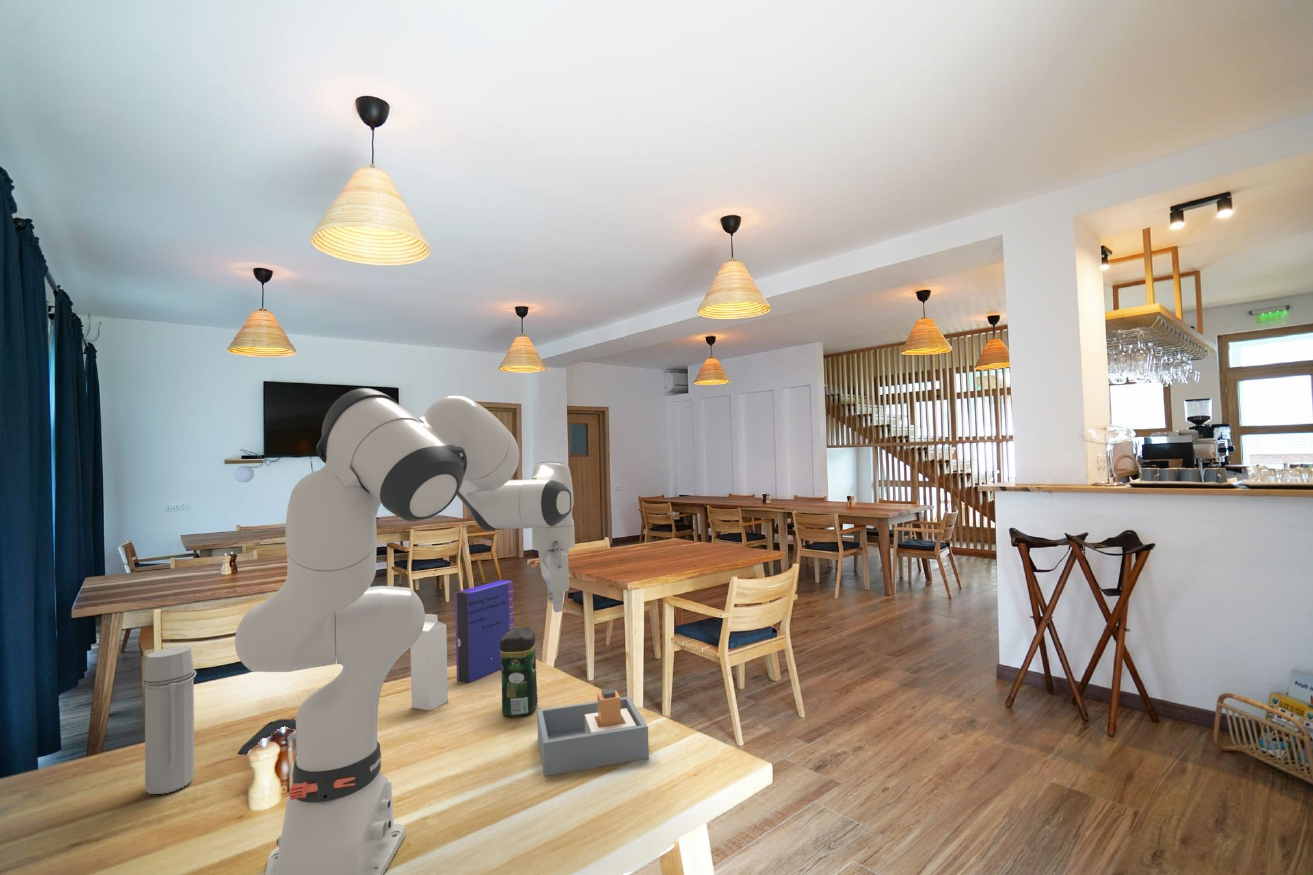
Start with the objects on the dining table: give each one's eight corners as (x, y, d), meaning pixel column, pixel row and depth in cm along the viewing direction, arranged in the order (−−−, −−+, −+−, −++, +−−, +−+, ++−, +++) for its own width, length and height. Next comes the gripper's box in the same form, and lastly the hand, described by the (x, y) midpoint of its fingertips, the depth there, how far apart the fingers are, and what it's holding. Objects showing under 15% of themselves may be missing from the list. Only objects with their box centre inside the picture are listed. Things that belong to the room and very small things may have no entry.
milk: (429, 698, 151) (428, 610, 152) (448, 701, 149) (446, 611, 150) (411, 708, 146) (409, 615, 147) (429, 711, 143) (428, 617, 144)
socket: (637, 745, 120) (636, 725, 120) (592, 753, 117) (591, 732, 117) (627, 727, 128) (626, 708, 128) (585, 733, 126) (584, 714, 126)
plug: (621, 742, 121) (620, 693, 122) (602, 745, 120) (600, 696, 121) (617, 734, 125) (616, 686, 125) (598, 737, 124) (597, 689, 124)
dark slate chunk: (283, 725, 139) (283, 704, 140) (373, 726, 137) (372, 705, 137) (230, 758, 124) (229, 734, 124) (329, 759, 122) (329, 735, 122)
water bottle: (140, 788, 112) (140, 652, 113) (193, 771, 118) (192, 642, 119) (145, 807, 106) (145, 663, 107) (201, 788, 111) (200, 652, 112)
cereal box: (503, 661, 178) (500, 579, 179) (515, 663, 176) (512, 580, 177) (456, 680, 163) (454, 591, 164) (469, 683, 161) (467, 593, 162)
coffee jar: (507, 702, 147) (505, 625, 148) (540, 700, 147) (537, 624, 148) (498, 719, 137) (495, 636, 138) (532, 717, 137) (530, 635, 138)
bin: (648, 757, 117) (647, 726, 117) (544, 775, 111) (543, 742, 112) (630, 724, 132) (629, 696, 132) (538, 738, 127) (537, 709, 127)
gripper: (575, 543, 117) (577, 615, 116) (562, 534, 136) (564, 595, 136) (542, 546, 115) (544, 619, 114) (534, 536, 135) (536, 598, 134)
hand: (555, 606), depth 125 cm, fingers open, 8 cm apart
